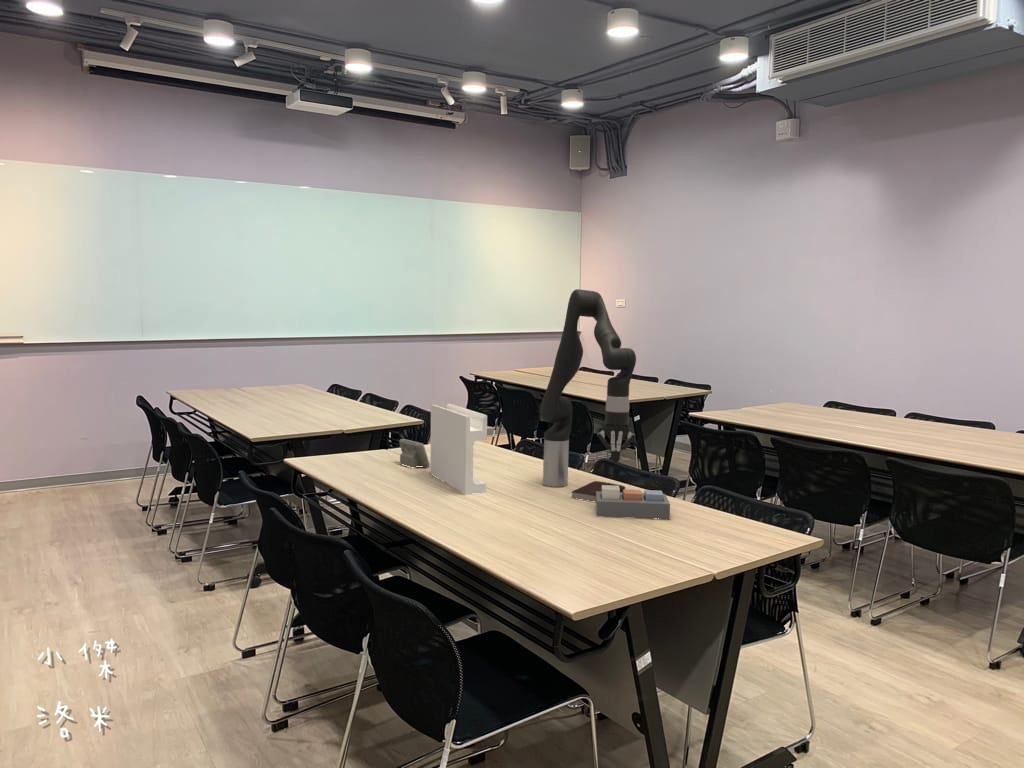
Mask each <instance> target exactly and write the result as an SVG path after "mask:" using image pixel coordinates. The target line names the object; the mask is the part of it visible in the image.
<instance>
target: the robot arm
mask: <svg viewBox="0 0 1024 768" xmlns="http://www.w3.org/2000/svg"><path fill="white" fill-rule="evenodd" d="M606 307H607V306H606V303H605V302H604V298H603V297H602V295H601V294H600V293H599V292H598V291H594V290H587V289H581V288H580V289H574V290H573V291H572V292H571V294H570V296H569V299H568V304H567V308H566V314H565V321H564V325H563V329H562V330H563V331H562V334H561V339H560V341H559V344H558V348H557V352H556V356H555V359H554V363H553V369H552V372H551V374H550V377H549V382H548V385H547V387H546V390H545V392H544V395H543V397H542V401H541V403H540V411H539V413H540V417H541V419H542V420H543V421H544V422H546V423H553V425H552V426H551V427H550V428H549V429H547V430H545V432H544V435H543V437H544V438H543V439H544V441H543V445H544V446H543V467H542V486H545V485H546V486H547V487H551V486H552V487H551V488H553V487H554V488H562V487H561V486H563V487H566V485H567V486H568V484H569V451H570V450H569V447H570V445H569V443H570V434H571V431H572V422H573V405H572V402H571V400H570V398H569V397H567V396H562V394H563V391H564V389H565V388H566V387H567V385H569V383H570V382H571V381H572V380H573V378H574V377H575V375H576V374H577V373H578V372H579V370H580V367H581V363H582V359H583V355H584V348H583V344H582V341H581V338H580V334H579V330H578V324H579V320H580V317H586V318H592V319H594V320H595V321H596V323H595V326H594V330H593V333H594V334H593V336H594V338H595V341H596V342H597V343H596V344H597V345H598V346H599V348H600V350H601V356H602V357H601V358H602V363H603V366H604V367H605V368H606V369H607V370H609V371H615V370H616V371H620V372H619V373H618V375H616V376H612V377H610V378H608V380H607V385H606V386H607V389H606V390H607V391H606V401H605V413H604V415H605V419H604V422H605V423H604V425H603V428H602V430H601V431H600V432H597V433H596V436H597V438H598V439H599V440H600V442H601V443H602V445H603V446H604V447H605V448H606V449H607V450H610V459H611V462H612V463H618V462H620V460H621V451H623V450H626V449H627V448H628V447H629V446H630V445H631V443H632V442H633V441H634V440H636V435H635V433H633V432H631V430H630V427H629V420H630V419H629V416H630V385H631V384H630V383H631V380H632V376H633V373H634V371H635V366H636V365H637V355H636V353H635V350H633V349H632V348H628V347H622V340H621V338H620V336H619V334H618V333H617V331H616V329H615V328H614V327H613V325H612V322H611V319H610V316H609V313H608V310H607V308H606ZM605 435H606V437H607V439H608V440H610V444H609V443H608V441H607V440H606V439H605ZM626 437H627V439H626V440H625V441H624V439H625V438H626ZM622 441H624V443H623V444H622Z"/></svg>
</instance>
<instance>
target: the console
mask: <svg viewBox="0 0 1024 768" xmlns="http://www.w3.org/2000/svg"><path fill="white" fill-rule="evenodd" d="M641 494H642V496H641V500H623V492H620V498H619V500H618V499H601V495H602V492H599V491H596V502H595V512H596V513H595V514H596V515H597V516H603V517H602V518H619V517H635V518H634V519H642V518H657V519H656V520H666V519H670V517H671V503H670V500H669V499H668V497H667V494H666V493H663V495H664V497H663V501H645V500H644V492H641ZM597 516H596V517H597ZM658 518H659V519H658Z"/></svg>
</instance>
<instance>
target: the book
mask: <svg viewBox="0 0 1024 768" xmlns="http://www.w3.org/2000/svg"><path fill="white" fill-rule="evenodd" d="M602 485H612V486H619V489H620V492H623V489H626V487H625V486H624V485H621V484H615V483H611V482H605V481H599V480H595V481H591V482H589V483H587V484H585V485H582V486H581V487H578V488H576V489H574V490H572V491H571V492H570V493H571V497H572V498H577V499H576V500H578V499H583V500H582V501H584V500H589V501H588V502H590V501H595V502H594V503H596V491H599V492H602Z"/></svg>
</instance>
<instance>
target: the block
mask: <svg viewBox="0 0 1024 768" xmlns="http://www.w3.org/2000/svg"><path fill="white" fill-rule="evenodd" d="M487 427H488V415H487V414H484V413H481V412H478V411H474V410H472V409H468V408H464V407H462V406H460V405H459V406H458V405H456V404H452V403H447V404H446V408H445V407H442V406H439V405H436V404H430V461H429V463H430V465H429V467H430V470H429V472H430V473H431V474H433V475H434V476H436V477H438V478H439V479H441V480H443V481H444V482H446V483H447V484H449V485H451V486H453V487H454V488H456V489H458V490H459V491H461V492H463V493H464V495H465V494H470V495H473V494H472V493H480V494H483V493H482V492H486V493H487V490H486V489H487V483H486V482H484V481H483V480H480V479H479V478H477V477H475V476H474V445H475V443H476V442H477V441H478V442H479V441H487V439H488V428H487ZM430 473H429V474H430ZM434 476H433V477H434ZM439 479H438V480H439ZM441 480H440V481H441ZM444 482H443V483H444ZM446 483H445V484H446ZM447 484H446V485H447ZM449 485H448V486H449ZM451 486H450V487H451ZM453 487H452V488H453ZM454 488H453V489H454ZM456 489H455V490H456ZM458 490H457V491H458ZM459 491H458V492H459ZM461 492H460V493H461ZM463 493H462V494H463Z"/></svg>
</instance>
